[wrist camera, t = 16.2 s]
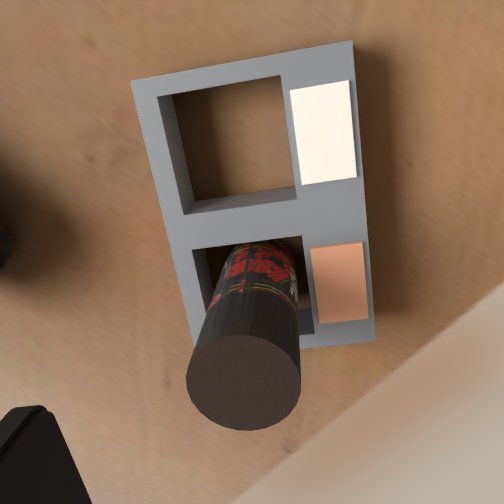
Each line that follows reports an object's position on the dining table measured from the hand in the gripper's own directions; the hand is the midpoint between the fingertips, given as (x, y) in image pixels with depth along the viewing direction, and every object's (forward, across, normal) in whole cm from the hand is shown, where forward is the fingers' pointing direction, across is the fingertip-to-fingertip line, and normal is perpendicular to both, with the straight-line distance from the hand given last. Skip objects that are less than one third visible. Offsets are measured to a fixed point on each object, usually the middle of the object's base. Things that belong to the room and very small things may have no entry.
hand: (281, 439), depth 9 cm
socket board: (+27, +2, +2) cm, 27 cm away
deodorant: (+27, +4, +8) cm, 28 cm away
